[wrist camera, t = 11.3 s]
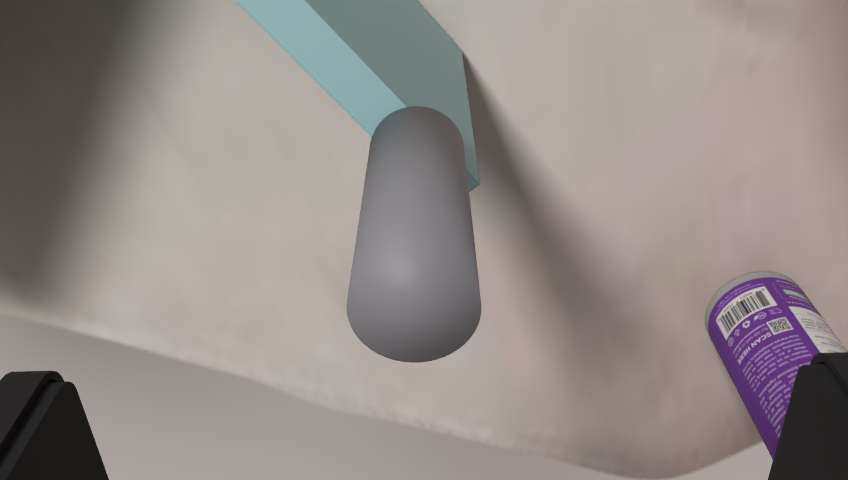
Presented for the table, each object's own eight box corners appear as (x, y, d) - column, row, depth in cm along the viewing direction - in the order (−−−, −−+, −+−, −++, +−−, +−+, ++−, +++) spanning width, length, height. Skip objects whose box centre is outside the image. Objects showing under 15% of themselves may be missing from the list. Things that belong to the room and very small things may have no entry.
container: (703, 356, 39) (842, 643, 26) (705, 277, 37) (860, 549, 24) (799, 345, 39) (990, 630, 26) (809, 264, 36) (1023, 534, 23)
